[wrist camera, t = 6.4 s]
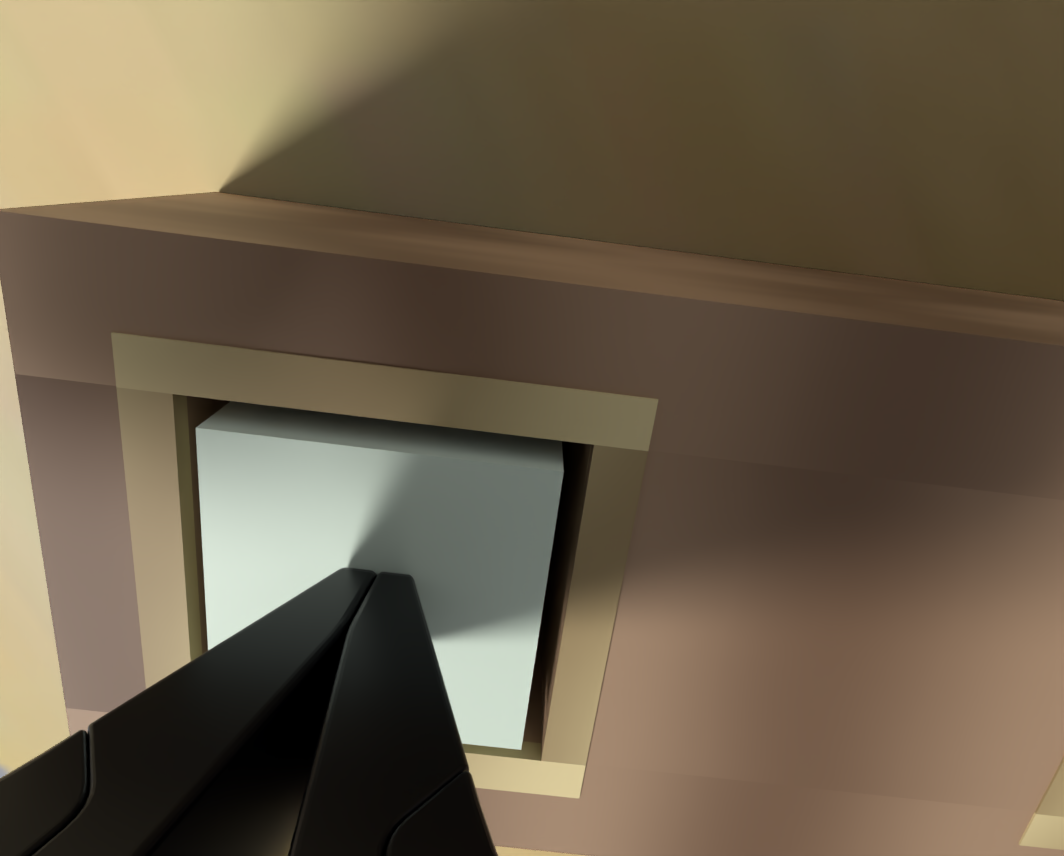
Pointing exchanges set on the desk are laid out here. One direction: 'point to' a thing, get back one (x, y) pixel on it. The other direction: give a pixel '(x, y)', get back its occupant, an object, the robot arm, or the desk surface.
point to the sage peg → (388, 535)
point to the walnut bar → (604, 504)
